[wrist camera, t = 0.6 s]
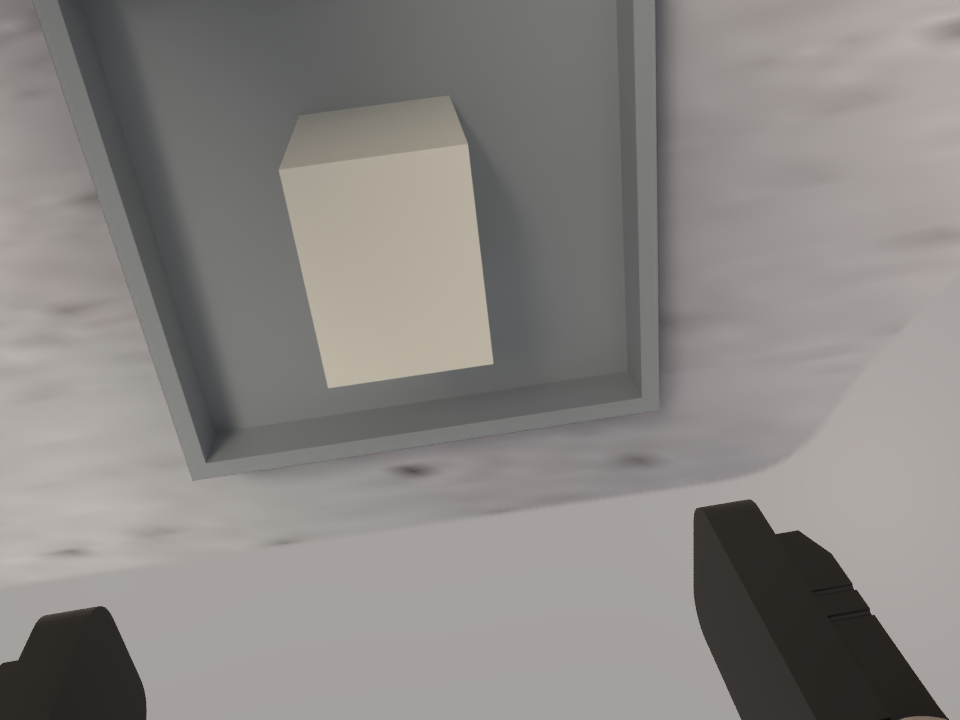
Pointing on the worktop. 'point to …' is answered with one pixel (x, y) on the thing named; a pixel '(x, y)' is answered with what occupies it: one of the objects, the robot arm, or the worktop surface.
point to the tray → (268, 232)
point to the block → (388, 240)
